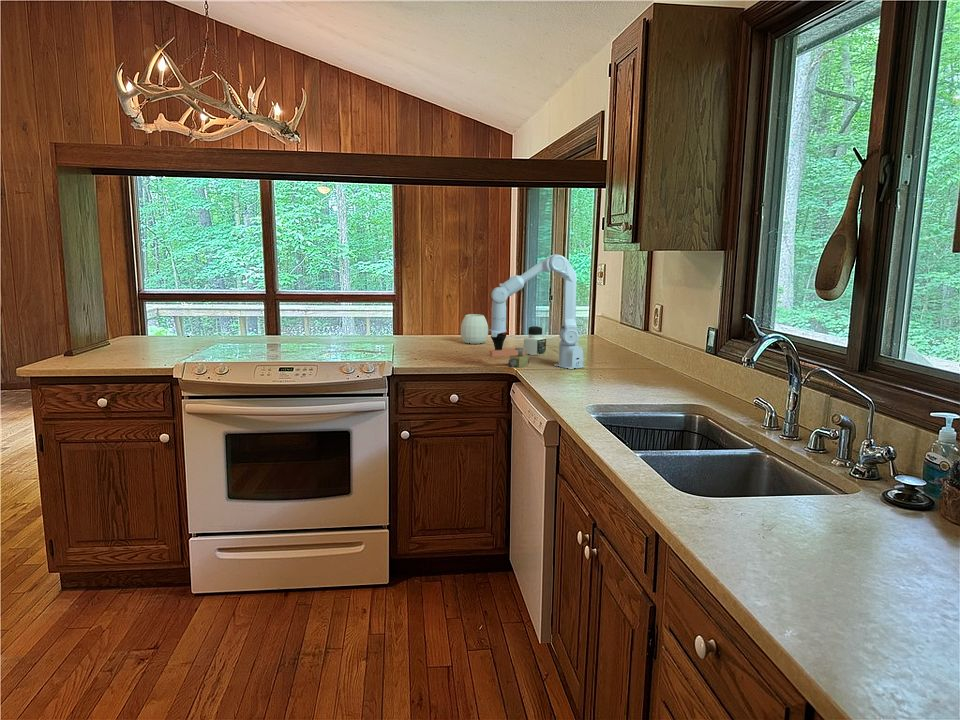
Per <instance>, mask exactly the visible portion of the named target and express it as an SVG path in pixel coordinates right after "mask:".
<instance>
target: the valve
mask: <svg viewBox="0 0 960 720" xmlns="http://www.w3.org/2000/svg"><path fill="white" fill-rule="evenodd" d="M507 362H508V367H510V368H513V367H514V368H518V369H519V368H520V369H521V368H528V367H529V364H530V359H529V355H526V354H525V355H512V356H509V360H508V361H507ZM527 366H528V367H527Z"/></svg>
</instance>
